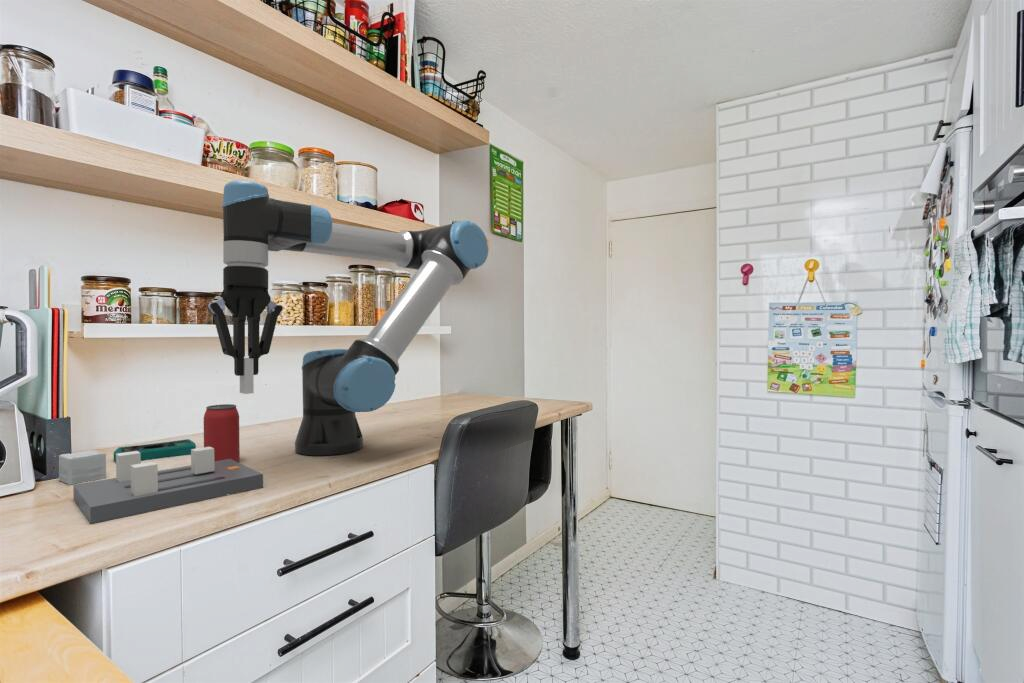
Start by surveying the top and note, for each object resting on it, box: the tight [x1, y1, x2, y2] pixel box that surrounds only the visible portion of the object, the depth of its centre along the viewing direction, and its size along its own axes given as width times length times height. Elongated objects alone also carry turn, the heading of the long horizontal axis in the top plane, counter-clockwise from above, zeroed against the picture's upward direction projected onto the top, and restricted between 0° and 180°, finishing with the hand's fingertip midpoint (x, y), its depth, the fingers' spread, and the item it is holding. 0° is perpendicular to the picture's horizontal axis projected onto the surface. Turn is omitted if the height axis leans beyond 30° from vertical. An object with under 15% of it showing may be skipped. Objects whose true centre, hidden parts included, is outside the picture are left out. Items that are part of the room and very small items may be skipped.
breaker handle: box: [190, 446, 215, 474], centre depth 92 cm, size 3×2×4 cm
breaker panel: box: [72, 451, 264, 525], centre depth 89 cm, size 24×16×7 cm, turn 137°
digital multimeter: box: [113, 438, 197, 463], centre depth 116 cm, size 7×15×3 cm, turn 130°
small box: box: [58, 449, 107, 486], centre depth 97 cm, size 6×6×5 cm
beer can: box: [203, 403, 241, 462], centre depth 109 cm, size 7×7×12 cm
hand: (246, 392), depth 98 cm, fingers closed
